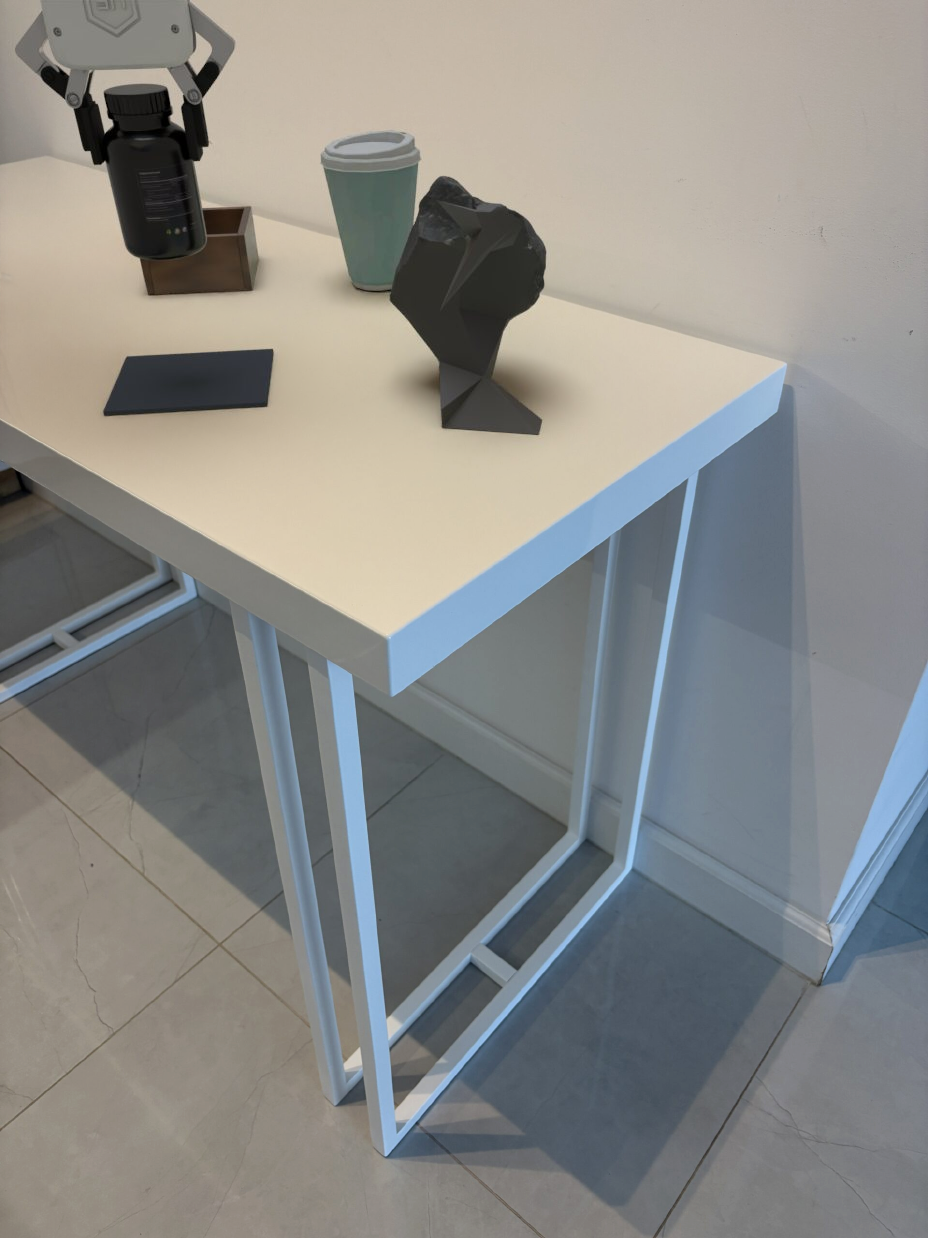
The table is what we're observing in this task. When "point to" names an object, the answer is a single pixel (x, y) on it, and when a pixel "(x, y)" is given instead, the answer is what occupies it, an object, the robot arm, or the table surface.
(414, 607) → the table surface
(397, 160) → the disposable coffee cup
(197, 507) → the table surface
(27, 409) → the table surface
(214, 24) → the robot arm
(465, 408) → the dark grey faceted sculpture
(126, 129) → the supplement bottle
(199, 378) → the mat
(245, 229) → the box
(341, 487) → the table surface
